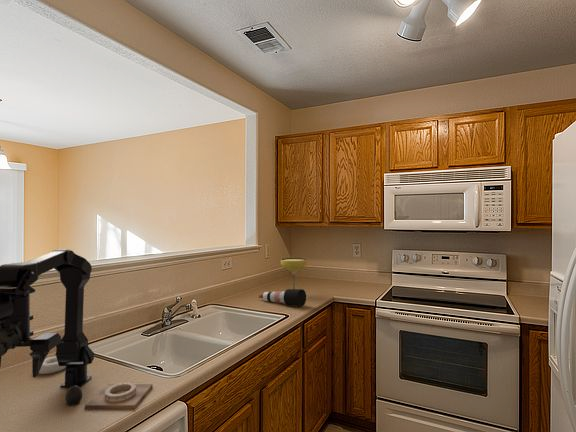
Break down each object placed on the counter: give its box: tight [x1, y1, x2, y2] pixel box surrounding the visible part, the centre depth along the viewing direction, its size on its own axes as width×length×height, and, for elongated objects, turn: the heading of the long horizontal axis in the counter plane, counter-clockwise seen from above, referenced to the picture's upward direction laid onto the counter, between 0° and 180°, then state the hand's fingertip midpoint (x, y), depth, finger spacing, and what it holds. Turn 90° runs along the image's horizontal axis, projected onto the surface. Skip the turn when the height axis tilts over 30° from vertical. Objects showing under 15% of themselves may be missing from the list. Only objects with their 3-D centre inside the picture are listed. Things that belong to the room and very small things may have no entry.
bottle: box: [258, 288, 307, 307], centre depth 210 cm, size 10×34×10 cm, turn 51°
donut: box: [38, 356, 66, 375], centre depth 118 cm, size 10×4×10 cm
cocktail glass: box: [280, 257, 308, 289], centre depth 232 cm, size 18×18×25 cm
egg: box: [64, 385, 83, 407], centre depth 96 cm, size 4×4×5 cm
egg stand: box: [84, 381, 153, 410], centre depth 99 cm, size 12×14×2 cm
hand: (15, 377), depth 83 cm, fingers open, 9 cm apart
